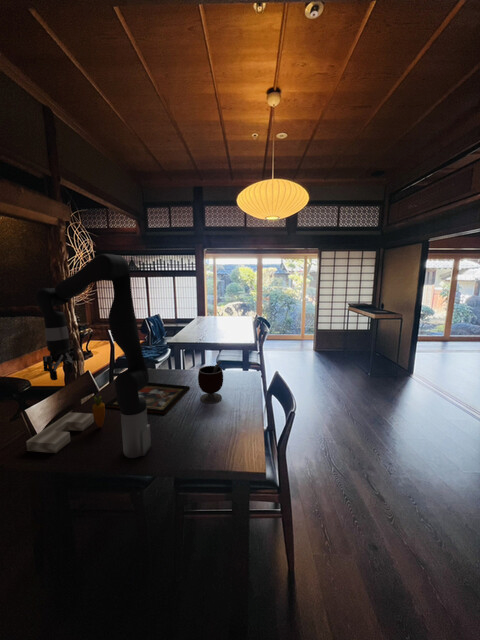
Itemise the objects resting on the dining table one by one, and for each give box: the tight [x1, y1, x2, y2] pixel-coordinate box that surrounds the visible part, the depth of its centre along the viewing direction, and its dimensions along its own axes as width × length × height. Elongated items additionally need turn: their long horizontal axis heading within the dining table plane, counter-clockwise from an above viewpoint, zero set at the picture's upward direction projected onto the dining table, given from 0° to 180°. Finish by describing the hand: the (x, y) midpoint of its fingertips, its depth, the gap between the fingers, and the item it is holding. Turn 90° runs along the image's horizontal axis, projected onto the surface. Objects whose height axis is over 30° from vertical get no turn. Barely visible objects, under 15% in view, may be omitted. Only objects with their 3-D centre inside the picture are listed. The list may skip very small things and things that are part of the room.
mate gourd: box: [197, 360, 224, 405], centre depth 142 cm, size 16×14×20 cm
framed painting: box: [104, 381, 190, 415], centre depth 144 cm, size 38×35×3 cm
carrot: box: [92, 395, 106, 429], centre depth 114 cm, size 5×5×15 cm
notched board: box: [26, 412, 95, 454], centre depth 109 cm, size 12×22×4 cm, turn 174°
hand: (62, 376), depth 105 cm, fingers open, 8 cm apart
